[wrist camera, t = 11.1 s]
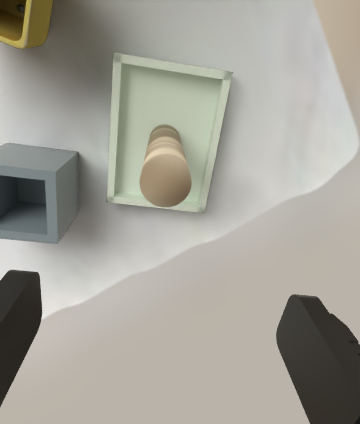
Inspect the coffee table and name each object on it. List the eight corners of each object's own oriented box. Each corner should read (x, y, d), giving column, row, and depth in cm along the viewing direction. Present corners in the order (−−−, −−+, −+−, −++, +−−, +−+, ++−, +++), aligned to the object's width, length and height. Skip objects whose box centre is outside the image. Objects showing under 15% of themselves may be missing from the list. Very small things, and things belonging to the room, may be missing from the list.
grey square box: (7, 142, 34) (-35, 160, 27) (78, 151, 35) (55, 171, 27) (14, 205, 37) (-23, 236, 30) (78, 212, 38) (57, 244, 31)
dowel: (150, 122, 33) (142, 154, 19) (182, 126, 33) (195, 161, 19) (147, 153, 34) (137, 204, 21) (177, 157, 35) (187, 210, 21)
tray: (117, 54, 31) (113, 52, 28) (227, 72, 32) (232, 72, 30) (110, 194, 37) (106, 202, 35) (201, 205, 38) (204, 213, 36)
